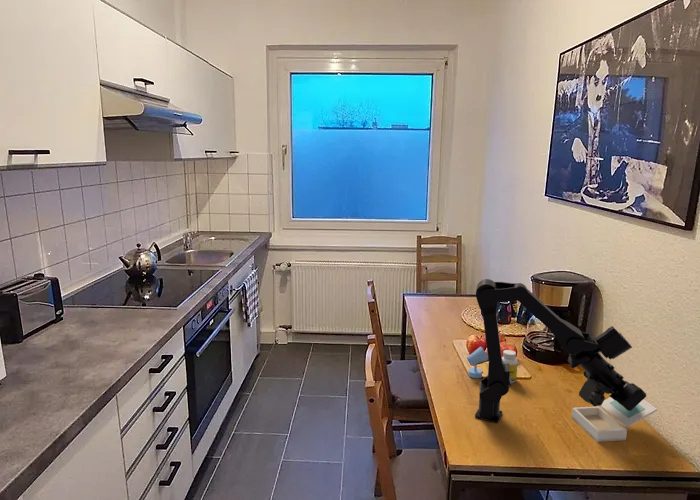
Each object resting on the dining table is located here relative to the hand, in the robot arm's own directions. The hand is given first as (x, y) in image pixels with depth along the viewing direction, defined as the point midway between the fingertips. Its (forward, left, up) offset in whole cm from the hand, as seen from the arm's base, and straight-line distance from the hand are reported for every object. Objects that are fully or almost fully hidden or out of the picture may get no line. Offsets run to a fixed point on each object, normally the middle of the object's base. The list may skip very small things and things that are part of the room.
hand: (630, 403), depth 129 cm
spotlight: (+11, +45, -7) cm, 47 cm away
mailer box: (-5, +7, -7) cm, 11 cm away
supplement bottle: (+13, +35, -7) cm, 38 cm away
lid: (-1, +1, -1) cm, 1 cm away
